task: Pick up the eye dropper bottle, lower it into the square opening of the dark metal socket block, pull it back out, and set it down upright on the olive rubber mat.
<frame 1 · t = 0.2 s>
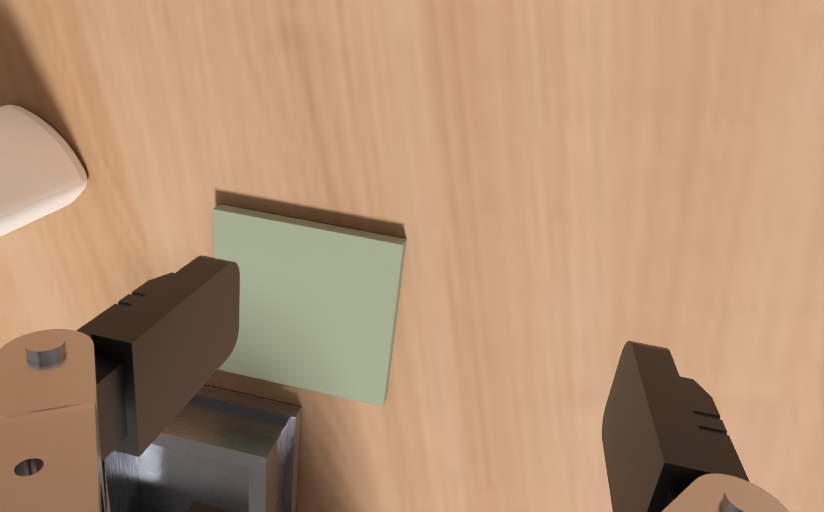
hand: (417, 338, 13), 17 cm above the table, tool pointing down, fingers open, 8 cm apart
socket block: (209, 460, 40), on the table
rubber mat: (307, 305, 34), on the table
eye dropper bottle: (48, 152, 33), on the table
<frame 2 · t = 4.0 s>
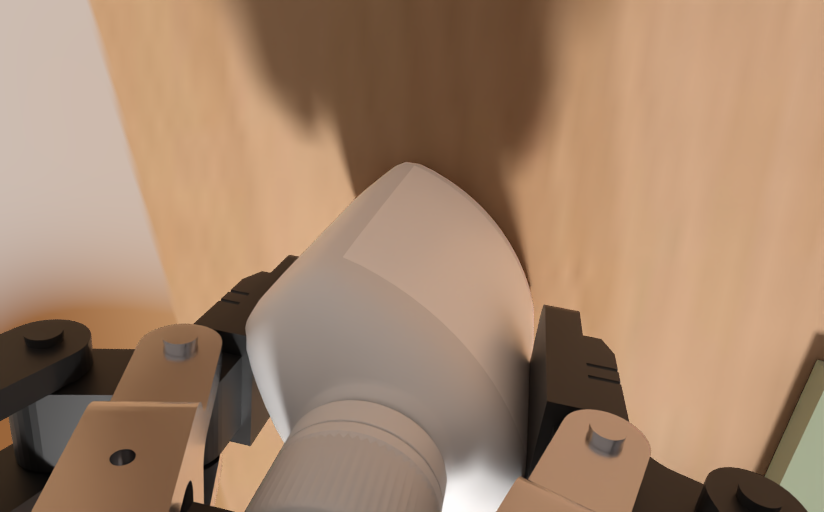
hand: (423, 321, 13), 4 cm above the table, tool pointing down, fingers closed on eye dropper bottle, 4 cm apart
eye dropper bottle: (447, 251, 17), on the table, touching gripper
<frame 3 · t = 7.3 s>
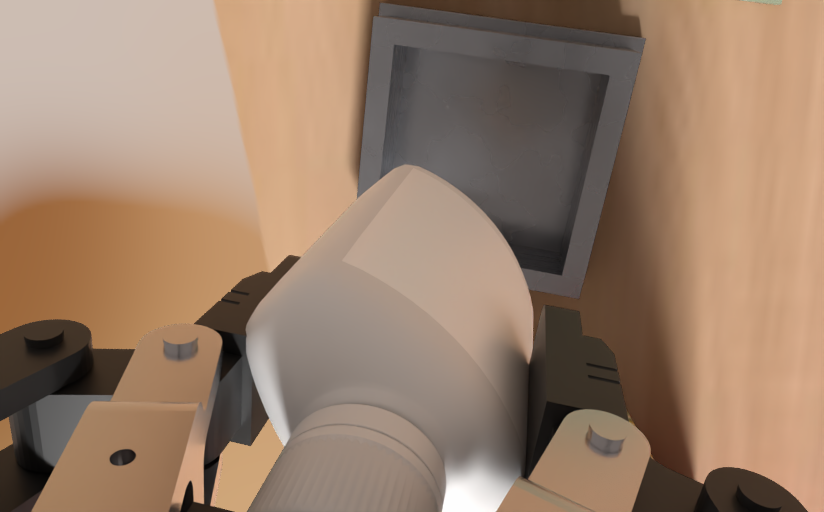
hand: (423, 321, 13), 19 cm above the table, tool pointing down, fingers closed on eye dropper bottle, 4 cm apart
socket block: (488, 146, 31), on the table
eye dropper bottle: (446, 253, 17), point 15 cm above the table, touching gripper
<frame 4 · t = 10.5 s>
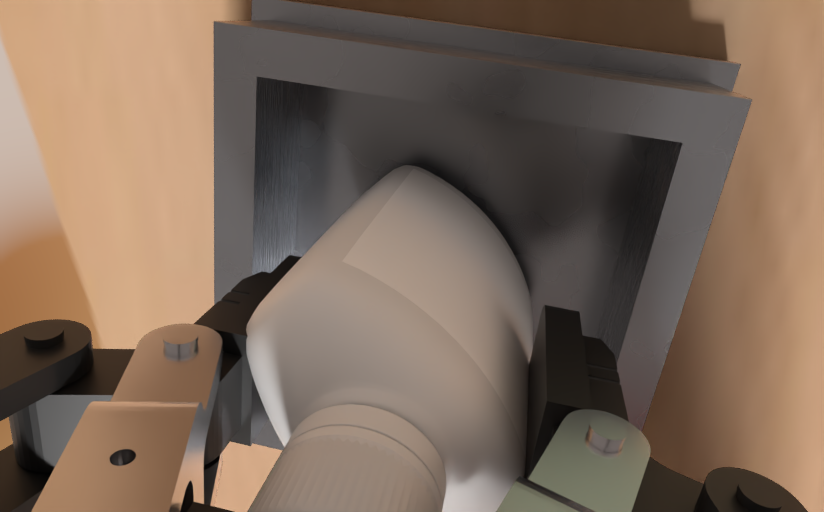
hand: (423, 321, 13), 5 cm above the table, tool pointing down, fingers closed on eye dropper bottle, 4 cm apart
socket block: (452, 241, 18), on the table
eye dropper bottle: (446, 254, 17), point 1 cm above the table, touching gripper
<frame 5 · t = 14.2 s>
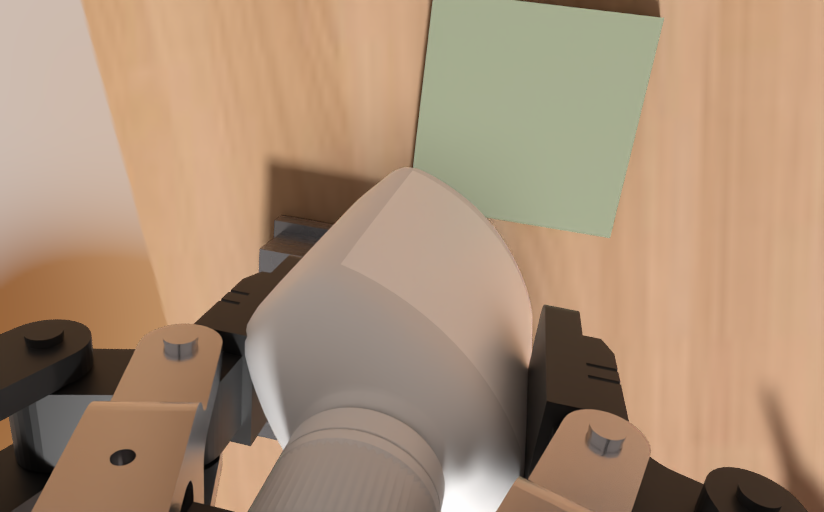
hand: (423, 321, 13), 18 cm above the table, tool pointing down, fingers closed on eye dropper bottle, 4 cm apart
socket block: (377, 333, 35), on the table
rubber mat: (525, 117, 29), on the table
eye dropper bottle: (445, 255, 17), point 14 cm above the table, touching gripper
when the fingers open (6 cm above the table, at t = 17.4 s): eye dropper bottle drops 1 cm, resting on rubber mat.
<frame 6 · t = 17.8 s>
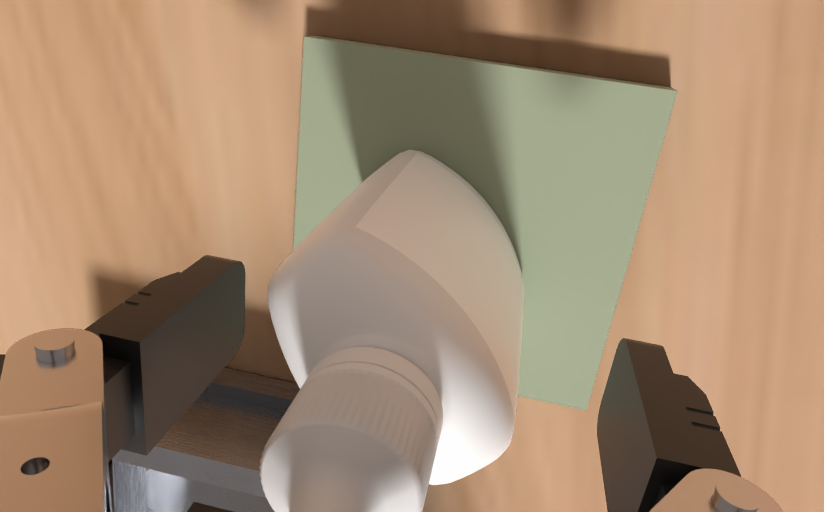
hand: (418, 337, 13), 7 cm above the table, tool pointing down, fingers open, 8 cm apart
socket block: (263, 501, 25), on the table
rubber mat: (458, 228, 19), on the table
eye dropper bottle: (445, 234, 18), point 1 cm above the table, touching rubber mat
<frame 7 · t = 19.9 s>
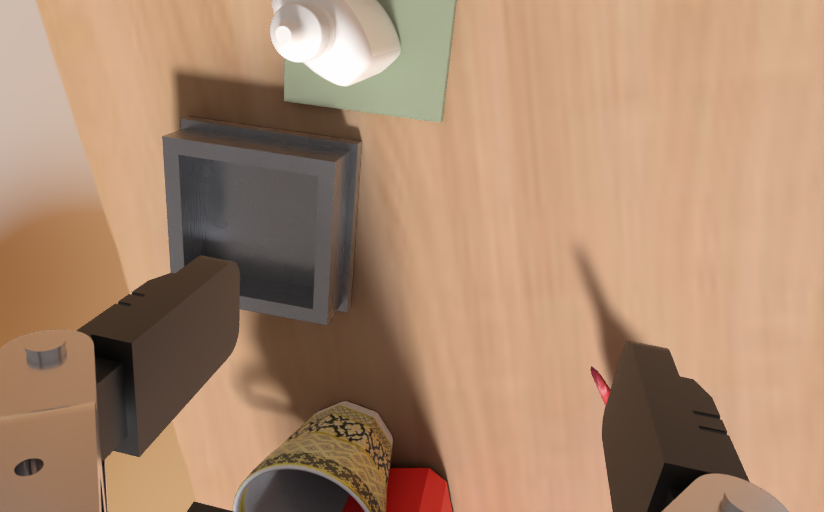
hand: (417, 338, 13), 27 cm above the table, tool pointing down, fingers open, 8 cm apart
socket block: (272, 214, 43), on the table
ceramic cup: (337, 441, 49), on the table, touching book
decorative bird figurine: (633, 419, 43), on the table
rubber mat: (369, 25, 37), on the table
eye dropper bottle: (362, 25, 36), point 1 cm above the table, touching rubber mat
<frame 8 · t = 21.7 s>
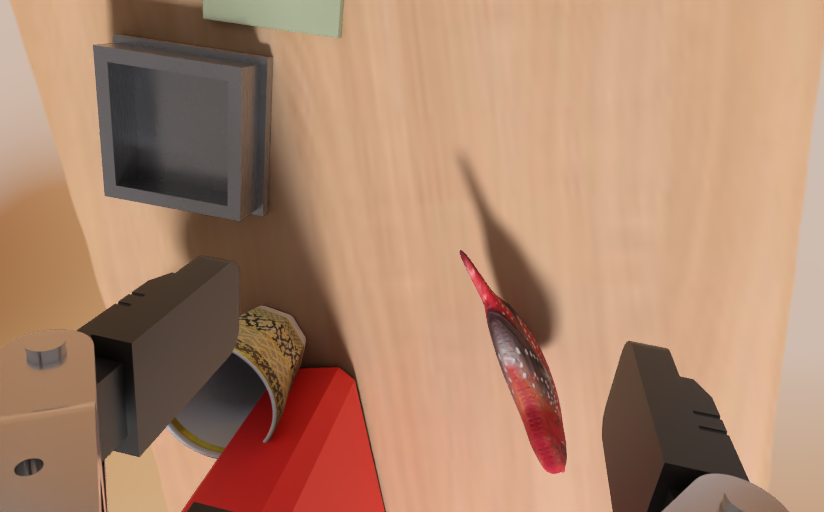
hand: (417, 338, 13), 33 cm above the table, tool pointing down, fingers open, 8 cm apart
book: (340, 489, 58), on the table, touching ceramic cup
socket block: (197, 126, 48), on the table
ceramic cup: (258, 345, 54), on the table, touching book
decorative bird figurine: (517, 317, 49), on the table
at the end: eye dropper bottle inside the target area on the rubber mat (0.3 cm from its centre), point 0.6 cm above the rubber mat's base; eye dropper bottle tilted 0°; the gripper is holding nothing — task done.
